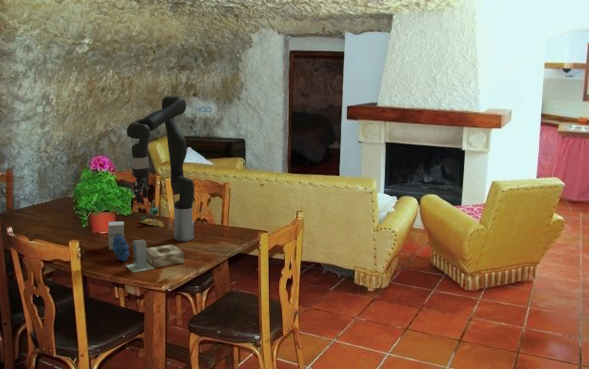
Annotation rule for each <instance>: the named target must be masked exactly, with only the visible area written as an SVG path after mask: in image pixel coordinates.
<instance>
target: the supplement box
mask: <svg viewBox="0 0 589 369" xmlns="http://www.w3.org/2000/svg"><path fill="white" fill-rule="evenodd" d="M124 225H125V222H124V221H108V225H107V226H108V228H107V229H108V231H107V232H108V250H110V251H111V250H113V246H112V244H113V242H114V241H113V238H114V237H115V236H116V237H117V235H121V236H122V238H124V239H125V231H124V230H125V226H124Z"/></svg>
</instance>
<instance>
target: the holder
mask: <svg viewBox="0 0 589 369" xmlns="http://www.w3.org/2000/svg"><path fill="white" fill-rule="evenodd" d="M146 257H147V262H148V263H149V264H150V265H151V266H153V267H154V268H159V267H160V268H161V267H165V266H167V267H168V266H172V265H178V264H183V263H185V252H184V251H183V250H181V248H178V247H177V246H175V245H174V244H166V245H160V246H151V247H146Z"/></svg>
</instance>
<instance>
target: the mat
mask: <svg viewBox="0 0 589 369" xmlns="http://www.w3.org/2000/svg"><path fill="white" fill-rule="evenodd" d="M125 267H126V268H127V269H128V270H129V271H130V272H131V273H133V274H134V273H140V272H146V271H150V270H152V271H153V270H156V267H154V266H153V265H152V264H150V263H149V262H148V261H147V267H146V268H140V269H136V268H135V267H134V263H131V264H126V265H125Z"/></svg>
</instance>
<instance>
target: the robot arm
mask: <svg viewBox="0 0 589 369" xmlns="http://www.w3.org/2000/svg"><path fill="white" fill-rule="evenodd" d="M186 110H187V101H186V99H185V98H184V97H182V96H164V97H163V98H162V101H161V109H159V110H155V111H153V112H151V113H149V114H148V115H147V116H145V117H144V118H141V119H138V120H136V121H133V122H131V123H130V124H129V125H128V126H127V129H126V135H127V136H128V137H129V138H130V139H133V140H134V139H135V140H139V141H138V143H135V144H133V145H132V146H131V172H132V175H131V176H132V177H133V178H135V179H136V181H133V195H135V196H136V198H135V200H136V203H137V204H139V203H140V204H142V198H143V199H147V198H148V190H149V188H150V184H149V176H150V169H149V168H150V165H149V164H150V163H149V155H148V147H149V143H150V142H149V141H150V137H151V132H153V131H154V130H156V129H158V127H160V126H161V125H163V124H164V126H165V131H166V138H167V148H168V149H167V151H168V156H169V166H170V188H171V190H172V192H173V193H175V194H177V195H179V198H178V200H176V201H175V202H174V207H173V208H174V212H173V213H174V216H173V217H174V240H175V241H177V242H188V241H191V240H194V237H195V235H194V234H195V229H194V228H195V222H194V221H193V204H194V201H195V183H194V181H193V179H191V178H188V177H185V175H184V162H185V160H186V157H187V155H188V154H187V152H188V148H187V139H186V138H185V135H184V134H183V132H182V130H181V129H180V128H179V127H178V125H177V123H176V119H175V117H178V116H181V115H183V114H184V113H185V112H186Z"/></svg>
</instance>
